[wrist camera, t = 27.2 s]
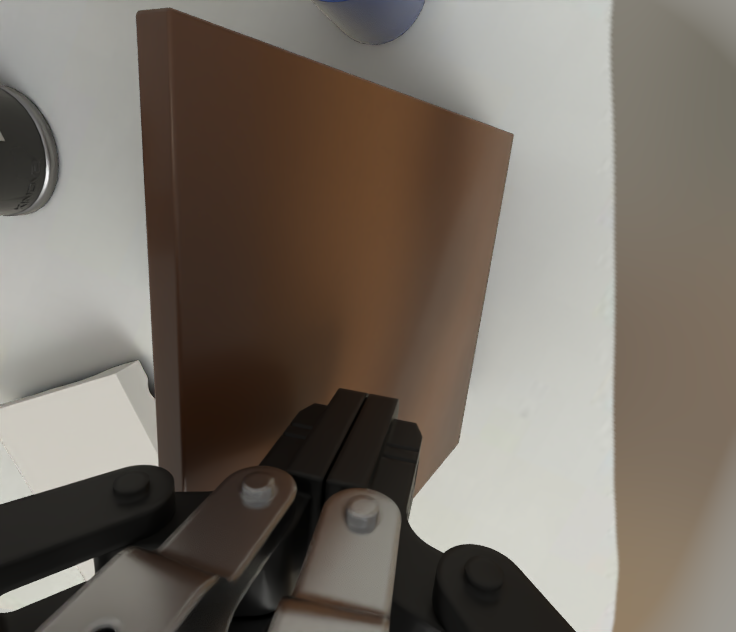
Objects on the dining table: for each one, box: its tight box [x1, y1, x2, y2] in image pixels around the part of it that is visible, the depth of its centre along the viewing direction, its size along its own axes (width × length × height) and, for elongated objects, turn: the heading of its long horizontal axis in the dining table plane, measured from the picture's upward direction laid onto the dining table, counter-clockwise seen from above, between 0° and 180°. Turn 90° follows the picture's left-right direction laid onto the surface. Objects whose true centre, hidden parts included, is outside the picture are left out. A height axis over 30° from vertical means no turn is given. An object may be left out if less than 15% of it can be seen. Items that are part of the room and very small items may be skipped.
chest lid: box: [136, 8, 514, 595], centre depth 17 cm, size 18×16×1 cm
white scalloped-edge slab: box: [0, 360, 159, 581], centre depth 42 cm, size 15×3×20 cm
